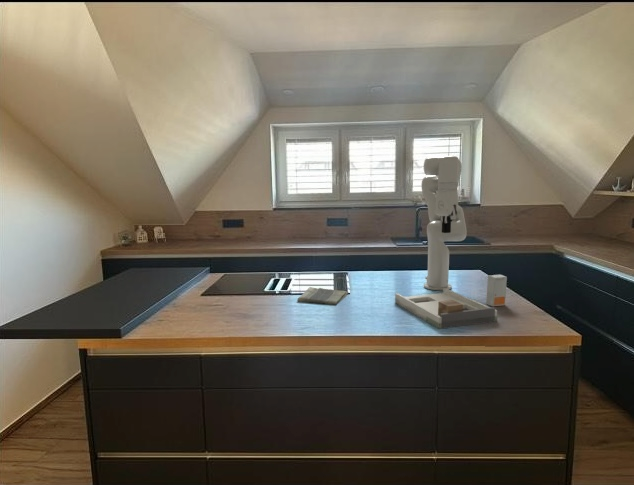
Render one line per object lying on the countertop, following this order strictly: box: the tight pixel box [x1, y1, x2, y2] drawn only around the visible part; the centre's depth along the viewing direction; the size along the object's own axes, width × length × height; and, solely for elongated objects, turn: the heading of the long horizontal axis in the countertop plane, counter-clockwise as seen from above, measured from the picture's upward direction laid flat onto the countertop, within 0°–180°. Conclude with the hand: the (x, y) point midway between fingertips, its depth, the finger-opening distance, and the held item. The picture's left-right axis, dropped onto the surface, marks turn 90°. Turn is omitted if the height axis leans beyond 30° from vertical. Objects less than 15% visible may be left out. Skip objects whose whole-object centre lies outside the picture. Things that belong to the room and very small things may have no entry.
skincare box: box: [485, 274, 508, 307], centre depth 167 cm, size 6×4×12 cm
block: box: [438, 300, 463, 315], centre depth 149 cm, size 6×6×5 cm
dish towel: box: [297, 286, 349, 306], centre depth 181 cm, size 19×18×3 cm
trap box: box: [394, 288, 498, 330], centre depth 161 cm, size 32×24×5 cm
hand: (446, 232), depth 169 cm, fingers closed
